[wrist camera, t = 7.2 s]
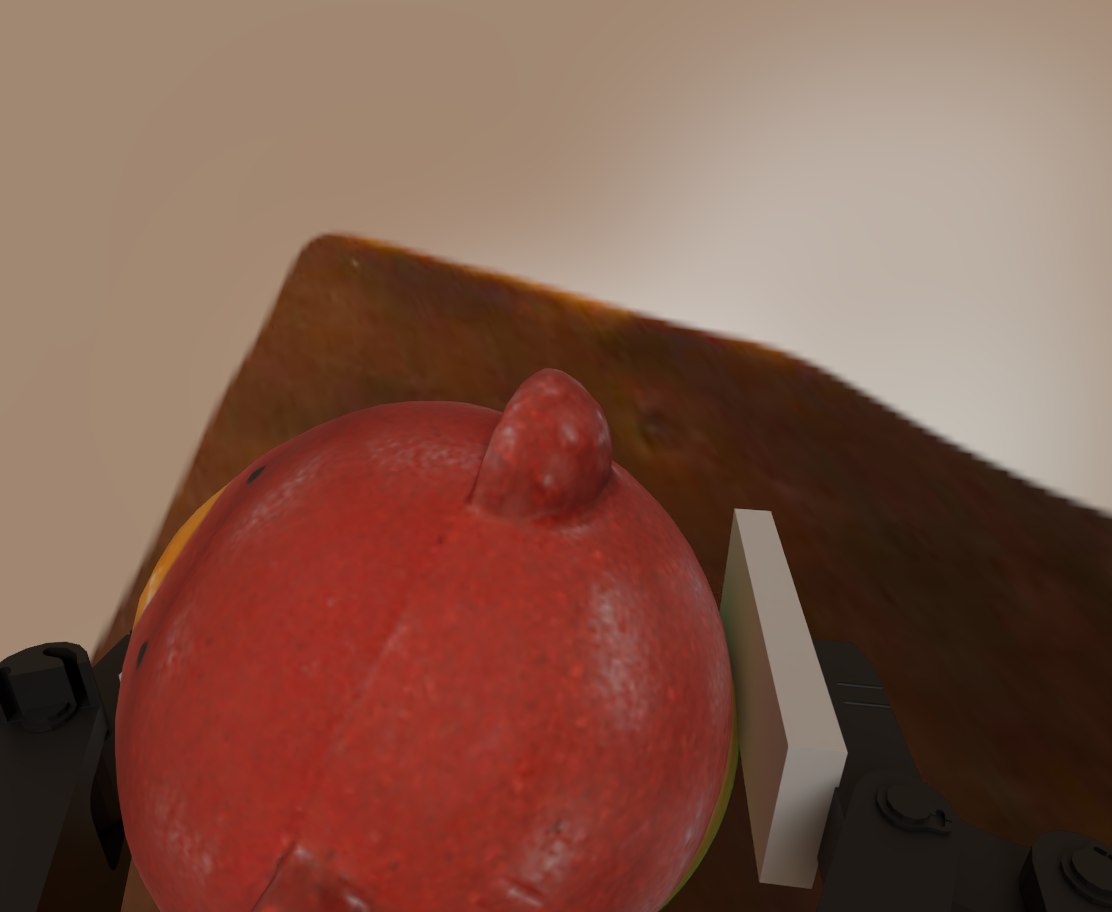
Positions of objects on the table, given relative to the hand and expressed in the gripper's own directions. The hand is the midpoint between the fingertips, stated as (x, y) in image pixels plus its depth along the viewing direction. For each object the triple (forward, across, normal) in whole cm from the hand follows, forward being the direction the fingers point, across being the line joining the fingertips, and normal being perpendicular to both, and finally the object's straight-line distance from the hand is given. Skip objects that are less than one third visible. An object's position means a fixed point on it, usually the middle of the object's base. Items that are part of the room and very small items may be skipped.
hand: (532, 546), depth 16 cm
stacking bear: (+3, 0, -8) cm, 9 cm away
